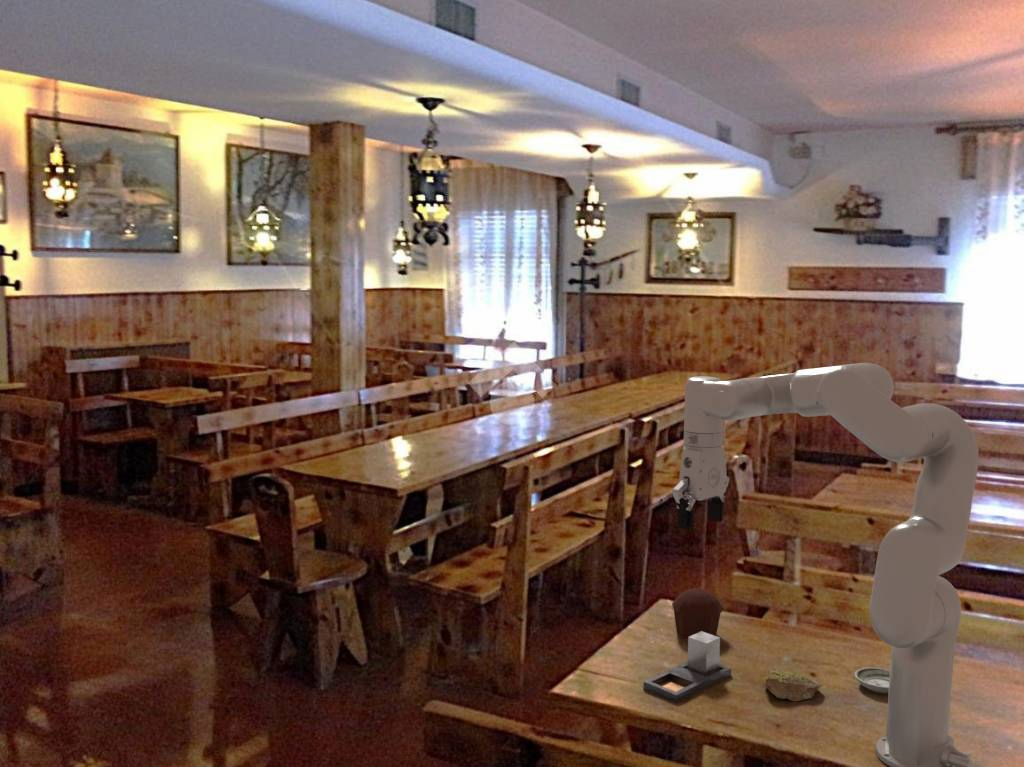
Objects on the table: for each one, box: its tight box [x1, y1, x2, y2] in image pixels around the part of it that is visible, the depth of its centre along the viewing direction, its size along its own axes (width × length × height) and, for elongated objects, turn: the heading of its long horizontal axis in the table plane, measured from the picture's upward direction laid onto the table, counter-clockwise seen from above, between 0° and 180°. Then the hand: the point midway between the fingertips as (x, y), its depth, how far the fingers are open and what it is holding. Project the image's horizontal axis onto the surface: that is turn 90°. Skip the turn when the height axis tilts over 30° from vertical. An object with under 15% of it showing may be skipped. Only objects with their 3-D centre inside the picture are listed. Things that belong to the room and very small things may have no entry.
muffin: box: [671, 587, 724, 640], centre depth 215 cm, size 12×11×10 cm
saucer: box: [853, 667, 890, 695], centre depth 189 cm, size 10×10×2 cm
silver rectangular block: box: [687, 631, 721, 677], centre depth 194 cm, size 4×4×8 cm
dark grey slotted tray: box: [643, 661, 732, 703], centre depth 191 cm, size 8×18×2 cm, turn 133°
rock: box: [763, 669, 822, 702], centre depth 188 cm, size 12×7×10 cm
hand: (700, 524), depth 190 cm, fingers open, 9 cm apart
